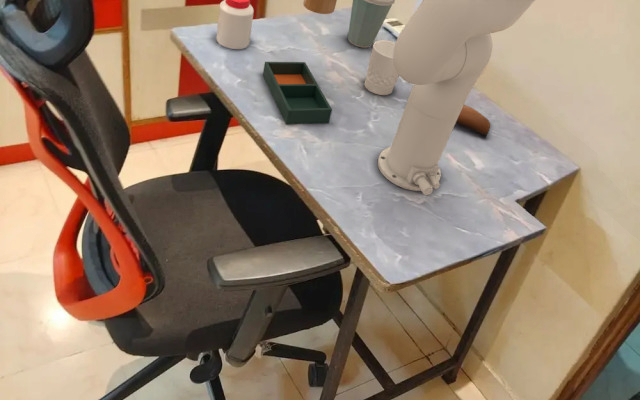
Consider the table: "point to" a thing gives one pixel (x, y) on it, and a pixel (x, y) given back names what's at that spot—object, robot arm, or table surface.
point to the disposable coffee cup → (367, 20)
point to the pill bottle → (234, 23)
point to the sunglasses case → (473, 120)
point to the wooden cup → (320, 6)
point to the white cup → (381, 68)
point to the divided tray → (296, 93)
